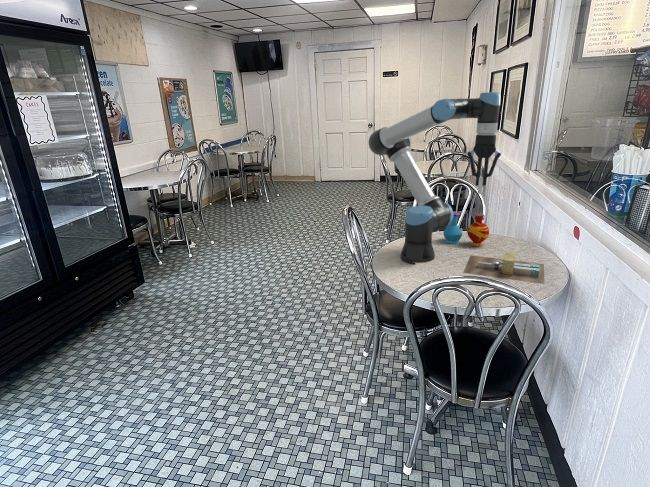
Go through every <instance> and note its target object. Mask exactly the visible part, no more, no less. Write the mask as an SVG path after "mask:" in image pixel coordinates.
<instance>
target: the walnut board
mask: <svg viewBox="0 0 650 487" xmlns="http://www.w3.org/2000/svg"><path fill="white" fill-rule="evenodd" d="M497 260H498V261H503V258H497V257H496V258H495V257H488V256H479V255H469V258H468V261H467V262H466V265H465V267H464V270H463V274H471V275H477V276H486V277H491V278H492V277H493V278H498V279H500V278H501V279H507V280H514V281H519V282H520V281H521V282H529V283H535V284H542V285H545V283H546V282H545V264H544V263H538V262H530V261H522V260H521V261H520V260H515V262H514V263H520V264H534V265H539V277H535V276H528V275H520V274H513V275H508V274H502V272H500V268H501V264H500V265H499V268H498V270H494V269H487V268H479V267H477V263H478V261H479V262H487V263H492V261H497Z"/></svg>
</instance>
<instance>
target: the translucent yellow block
mask: <svg viewBox="0 0 650 487" xmlns="http://www.w3.org/2000/svg"><path fill="white" fill-rule="evenodd" d="M502 259H503V266H502V274H508V275H513V269H514V262H515V261H516V253H513V252H504V255H503V258H502Z"/></svg>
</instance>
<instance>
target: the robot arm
mask: <svg viewBox="0 0 650 487" xmlns="http://www.w3.org/2000/svg"><path fill="white" fill-rule="evenodd" d="M500 107H501V93H500V92H498V91H494V92H493V91H492V92H491V91H489V92H481V93H479V97H476V98H473V97H472V98H471V97H469V98H443V99H438V100H437V101H436V102H435V103H433V105H432V106H429V107H427V108H425V109H424V110H422V111H420V112H417V113H416V114H414V115H411V116H409V117H407V118H405V119H404V120H401V121H398V122H397V123H395V124H392V125H391V126H388V127H387V126H384V127H381V128H379V129H378V130H374V131H373V132H371V134H370V136H369V137H368V148H369V149H370V150H371V152H372V153H373V154H375V155H377V156H387V159H388V160H389V161H390V162H392V163H394V165H395V166H396V168H397V169H398V172H399V173H400V174H401V176H402V179H403V180H404V182H405V183H406V185H407V187H408V189H409V191H410V192H411V195H412V196H413V198H414V200H415V201H416V203H417V206H412V207H410V208H408V209H407V210H406V212H405V218H404V222H405V223H404V224H405V226H404V227H405V228H404V244H403V246H402V249H401V252H400V260H401V261H402V262H404V263H407V264H410V265H416V263H417V264H418V263H429V262H431V261H433V260H434V259H435V258H436V254H435V250H434V247H433V244H432V242H433V241H432V239H433V238H432V237H433V233H436V232H437V231H439V230H445V229H446V228H447V227H448V226H449V225H450V224H451V222H452V220H453V212H454V211H453V208H452V206H451V205H450V204H449V203H446V202H444V201H443V200H442V198H441V197H440V196H437V195H436V194H435V193H434V191H433V189H432V188H431V186H430V184H429V183H428V181H427V179H426V177H425V176H424V174H423V172H422V171H421V169H420V167H419V165H418V164H417V162H416V159H415V158H414V156H413V154H412V153H411V152H412V149H413V148H412V146H411V144H412V142H411V141H412V139H411V137H413V136H415V135H418V134H420V133H422V132H425V131H427V130H429V129H431V128H433V127H435V126H438V125H440V124H442V123H445V122H447V121H451V120H460V119H477V122H476V130H475V133H476V135H475V141H474V147H473V148H472V150H470V151H467V152H466V154H467V156H468V158H469V164H470V170H471V176H473V177H475V185H476V186H477V194H479V195H482V194H483V190H484V186H486V184H487V180H488V179H487V178H490V177H492V176H493V174H494V171H495V167H496V165H497V163H498V159H499V158H500V157H501V156H502V154H503V152H501V151H498V150H497V146H496V142H497V135H496V134H497V133H498V125H499V114H500ZM493 154H494V157H493V158H494V159H493V160H492V164H491V167H490V169H489V164H490V163H489V162H490V158H491V157H492V156H493ZM474 155H476V157H477V167H476V165H475V157H474ZM483 159H484V165H483ZM482 165H483V174H482ZM476 168H477V169H476ZM488 171H489V172H488ZM481 174H482V175H483V176H482V175H481ZM434 261H435V260H434Z"/></svg>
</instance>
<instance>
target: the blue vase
mask: <svg viewBox="0 0 650 487" xmlns="http://www.w3.org/2000/svg"><path fill="white" fill-rule="evenodd" d="M459 215H460V213H459V212H458V211H453V220H452V222H451V224H450V225H449V226H447V227H446V228H444V229H443V233H442V234H443V237H444V239H445V242H446V243H448V244H459V243H460V240H461V238H462V237H463V231H462V230H461V228H460V227H459V225H458V219H459V218H458V217H459Z"/></svg>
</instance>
